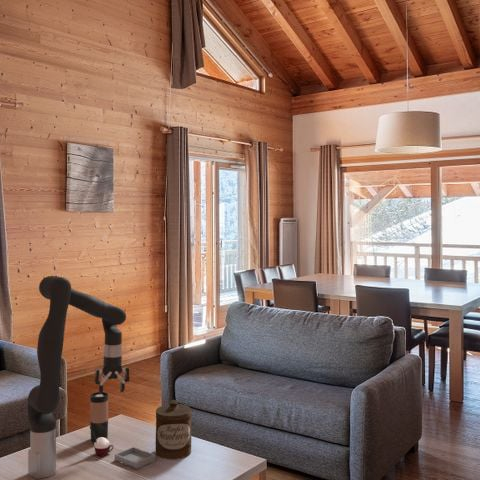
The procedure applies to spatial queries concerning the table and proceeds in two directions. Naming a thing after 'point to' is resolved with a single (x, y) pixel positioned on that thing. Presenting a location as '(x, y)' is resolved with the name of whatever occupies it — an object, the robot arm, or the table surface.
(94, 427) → the travel mug
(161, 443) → the labeled brown tin
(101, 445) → the cocoa
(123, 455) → the tray
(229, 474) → the table surface
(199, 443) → the table surface
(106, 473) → the table surface
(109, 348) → the robot arm
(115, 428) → the table surface
